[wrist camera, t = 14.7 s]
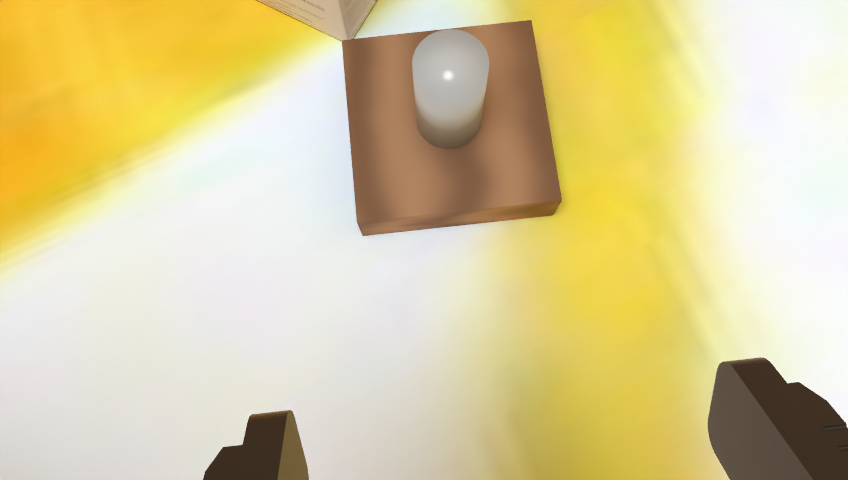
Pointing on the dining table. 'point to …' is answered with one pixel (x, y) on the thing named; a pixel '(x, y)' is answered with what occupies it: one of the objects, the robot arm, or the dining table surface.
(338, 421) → the dining table surface
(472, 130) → the domed grey cylinder
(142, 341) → the dining table surface
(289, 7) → the supplement box
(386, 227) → the walnut block
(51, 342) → the dining table surface
